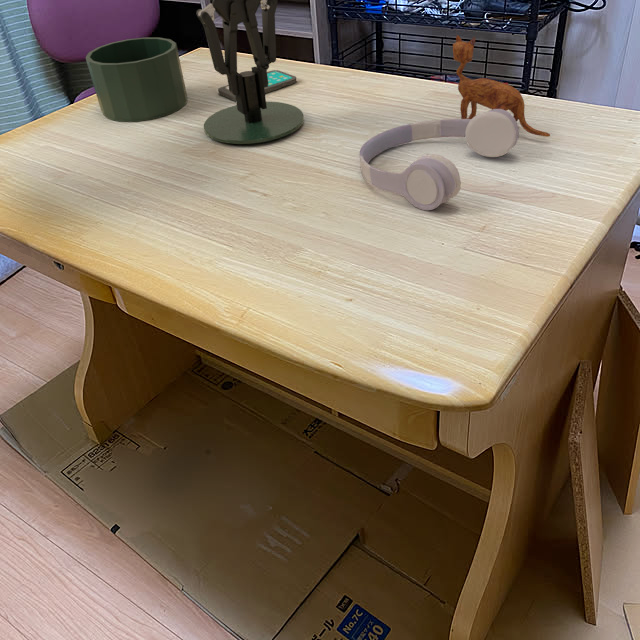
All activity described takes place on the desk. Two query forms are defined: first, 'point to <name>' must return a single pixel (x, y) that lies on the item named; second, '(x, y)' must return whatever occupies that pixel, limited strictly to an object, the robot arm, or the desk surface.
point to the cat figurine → (487, 90)
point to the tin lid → (253, 118)
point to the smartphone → (274, 82)
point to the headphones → (434, 170)
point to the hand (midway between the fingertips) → (252, 108)
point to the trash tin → (137, 79)
